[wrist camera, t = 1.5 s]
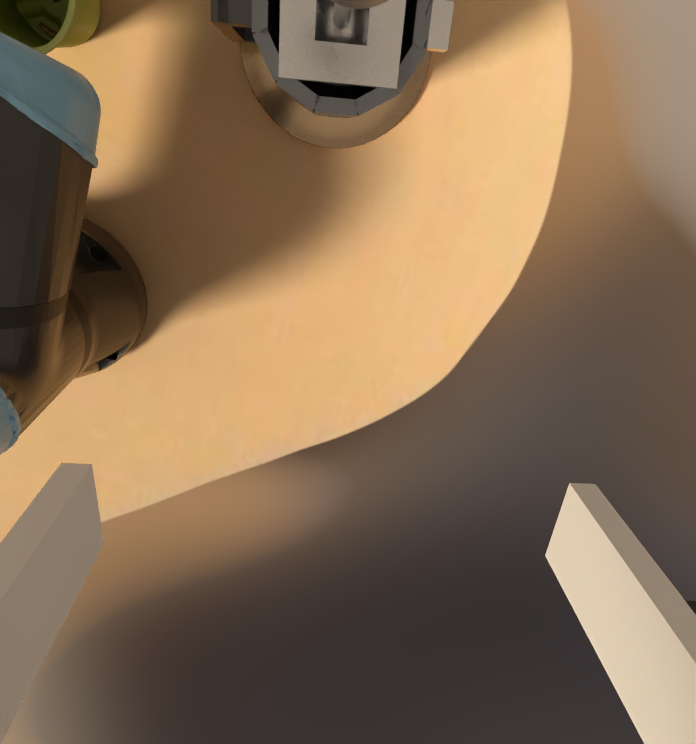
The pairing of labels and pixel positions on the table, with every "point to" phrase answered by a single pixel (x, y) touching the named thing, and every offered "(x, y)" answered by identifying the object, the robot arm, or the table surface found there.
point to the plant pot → (49, 22)
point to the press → (335, 65)
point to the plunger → (343, 22)
